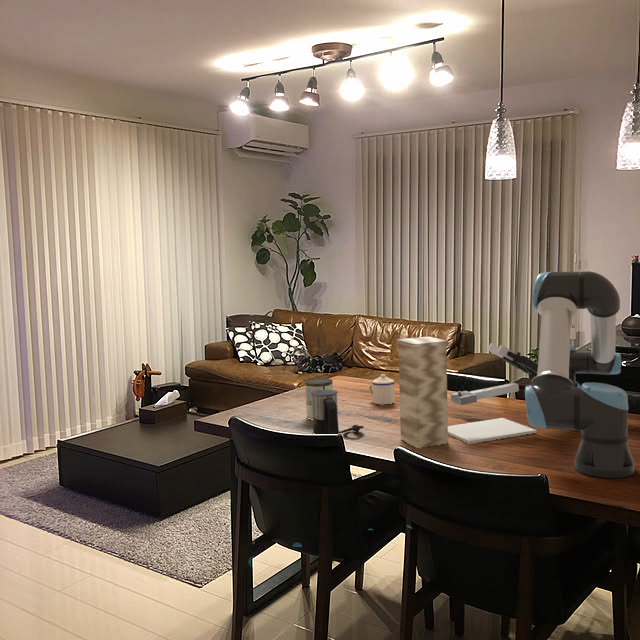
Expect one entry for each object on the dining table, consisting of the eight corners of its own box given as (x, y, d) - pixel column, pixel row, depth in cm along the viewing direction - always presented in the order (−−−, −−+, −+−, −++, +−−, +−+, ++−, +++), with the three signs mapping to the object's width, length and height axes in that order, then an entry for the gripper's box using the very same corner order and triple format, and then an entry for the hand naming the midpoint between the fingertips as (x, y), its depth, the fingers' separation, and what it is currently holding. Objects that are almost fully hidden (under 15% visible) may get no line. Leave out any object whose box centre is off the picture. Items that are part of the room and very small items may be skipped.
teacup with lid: (399, 402, 270) (399, 374, 269) (385, 406, 264) (384, 377, 263) (377, 398, 279) (376, 370, 277) (362, 402, 272) (361, 374, 271)
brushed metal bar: (461, 405, 216) (460, 394, 215) (450, 400, 222) (450, 390, 221) (522, 392, 224) (521, 381, 224) (511, 388, 230) (510, 378, 229)
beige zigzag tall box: (416, 449, 208) (414, 344, 204) (398, 439, 219) (396, 339, 215) (450, 443, 212) (448, 340, 209) (430, 434, 223) (428, 336, 220)
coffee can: (309, 414, 257) (307, 377, 256) (335, 414, 255) (334, 377, 254) (304, 421, 247) (302, 383, 245) (331, 421, 245) (330, 383, 244)
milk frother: (307, 434, 230) (305, 391, 228) (344, 426, 239) (342, 385, 237) (331, 443, 218) (329, 398, 216) (369, 434, 227) (367, 391, 225)
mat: (469, 444, 211) (468, 441, 211) (438, 430, 228) (438, 427, 228) (536, 433, 221) (536, 430, 220) (502, 420, 237) (502, 417, 237)
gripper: (557, 390, 222) (506, 361, 214) (523, 381, 239) (474, 354, 230) (566, 370, 223) (516, 340, 214) (531, 362, 239) (483, 334, 231)
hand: (494, 347), depth 222 cm, fingers open, 5 cm apart
